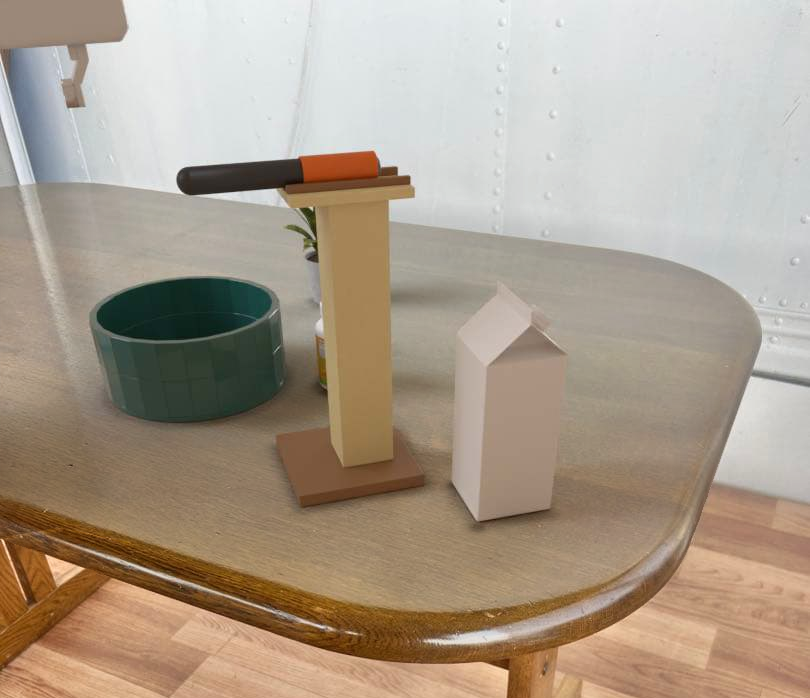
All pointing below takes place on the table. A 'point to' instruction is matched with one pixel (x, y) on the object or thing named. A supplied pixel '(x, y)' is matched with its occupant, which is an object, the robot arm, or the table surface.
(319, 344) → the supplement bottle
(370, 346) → the stand
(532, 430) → the milk carton
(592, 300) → the table surface
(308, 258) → the house plant
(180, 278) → the pot
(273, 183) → the marker
